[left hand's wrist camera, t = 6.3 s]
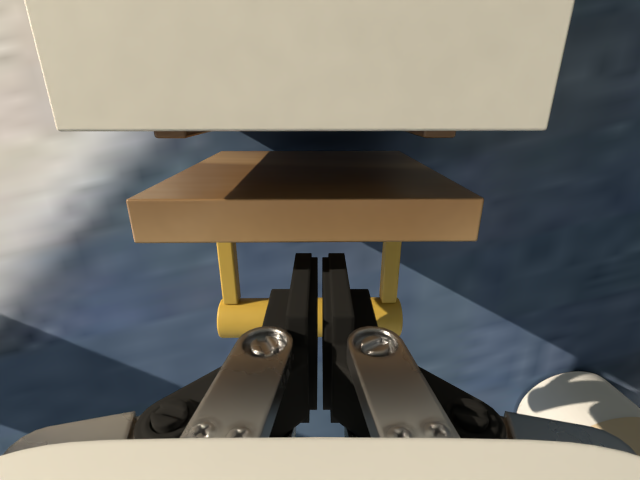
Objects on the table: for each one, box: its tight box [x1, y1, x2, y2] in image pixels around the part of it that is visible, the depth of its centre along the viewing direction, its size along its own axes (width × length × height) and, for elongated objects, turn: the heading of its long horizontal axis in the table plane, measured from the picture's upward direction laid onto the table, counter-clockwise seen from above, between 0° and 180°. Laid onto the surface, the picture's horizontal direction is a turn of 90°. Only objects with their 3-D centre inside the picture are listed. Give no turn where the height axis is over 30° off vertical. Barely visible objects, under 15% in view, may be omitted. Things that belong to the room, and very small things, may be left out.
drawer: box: [126, 131, 484, 338], centre depth 12 cm, size 22×9×10 cm, turn 0°
